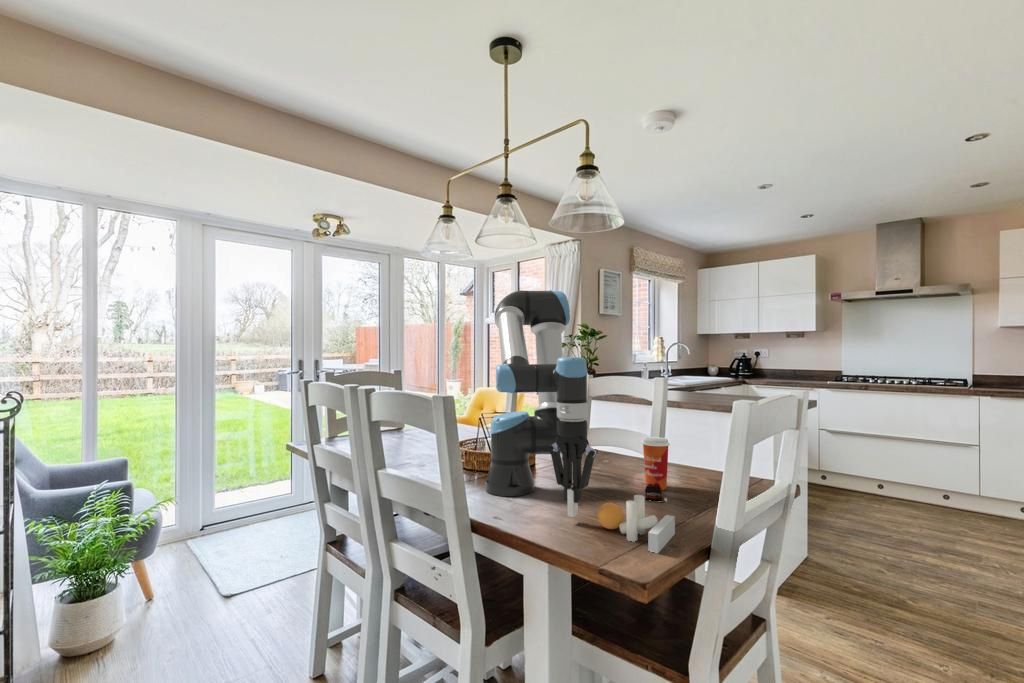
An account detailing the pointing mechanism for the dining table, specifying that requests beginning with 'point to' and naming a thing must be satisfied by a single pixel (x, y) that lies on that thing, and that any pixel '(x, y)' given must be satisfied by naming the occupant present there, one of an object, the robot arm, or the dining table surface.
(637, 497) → the pin
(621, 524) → the front pin
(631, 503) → the pin
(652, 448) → the coffee cup
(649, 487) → the dark piece
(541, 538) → the dining table surface
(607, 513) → the ball
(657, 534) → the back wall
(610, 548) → the dining table surface
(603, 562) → the dining table surface
